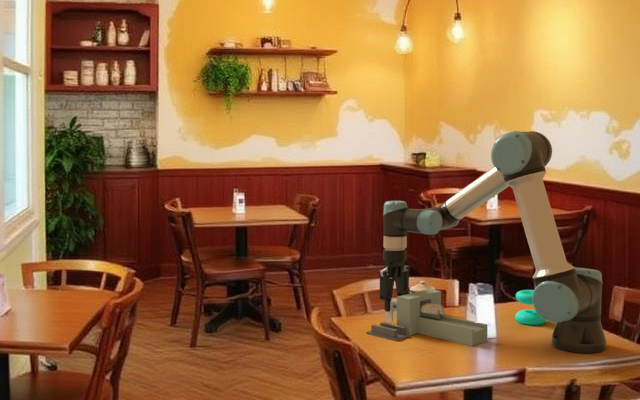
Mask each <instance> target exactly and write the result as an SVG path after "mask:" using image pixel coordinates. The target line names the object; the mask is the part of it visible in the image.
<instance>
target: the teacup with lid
mask: <svg viewBox="0 0 640 400" xmlns="http://www.w3.org/2000/svg"><path fill="white" fill-rule="evenodd" d="M426 282H427V281H425V280H420V281H419V283H417V284H415V285H413V286H411V287H409V294H410V293H414V292H418V291H422V290H426V289H432V290H437V289H436V288H435V286H431V285H430V284H428V283H426Z"/></svg>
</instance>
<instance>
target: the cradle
mask: <svg viewBox="0 0 640 400" xmlns="http://www.w3.org/2000/svg"><path fill="white" fill-rule="evenodd" d="M370 327H371V328H370V329H371V330H367V331H366V332H365V333H366V334H368V335H370V336H374V337H379V338H382V339H386V340H390V341H395V342H397V341H401V340H404V339H408V338H411V337H412V335H410V334H406V327H404V326H399V325H397V324H395V323H392V322H391V323H389V322H388V321H382V322H380V323H379V324H371V326H370Z"/></svg>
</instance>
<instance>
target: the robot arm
mask: <svg viewBox="0 0 640 400" xmlns="http://www.w3.org/2000/svg"><path fill="white" fill-rule="evenodd" d="M491 147H492V148H491V151H490V159H491V164H492V165H493V167H491V168H490V169H488V170H487V171H486V172H484V173H483V174H481V175H480V176H479V177H477V178H476V179H475V180H473V181H472V182H470V183H469V184H468V185H466V186H465V187H463V188H462V189H460V191H458V192H457V193H455V194H454V195H453V196H451V197H450V198H448V199H447V200H445V201H444V202H442V203H441V204H440V205H438V206H433V207H429V208H428V207H427V208H422V209H421V208H410V207H408V204H407V202H406V201H404V200H387V201H385V202H384V204H383V214H382V218H383V234H382V235H383V243H382V244H383V245H382V246H383V248H384V249H383V250H382V251H383V252H382V260H383V261H384V262H385V264H384V268H383V269H379V270H378V275H379V300H381V301H383V302H384V321H385V322H391V323H392V322H394V315H395V319H397V312H393V302H392V301H391V300H392V298H393V293H394V288H395V289H396V290H395V291H396V298H397V297H398V296H402V295H406V294H410V291H409V290H410V270H411V266H410V265H406V264H405V261H407V249H406V248H407V246H408V244H407V243H408V240H407V239H408V237H407V233H415V234H423V235H426V236H427V235H436V234H438V233H439V232H440V231H441V230H448V229H452V228H455V227H456V226H458V224H459V222H460V220H462V219H464V217H466V216H467V215H469V214H471V213H472V212H473V211H475V210H476V209H478V208H479V207H481V206H482V205H484V204H485V203H487V202H488V201H490V200H491V199H493V198H494V197H495V196H497V195H498V194H500V193H501V192H503V191H504V190H506V189H508V187H510V188H511V189H512V191H513V195H514V197H515V198H514V199H515V201H516V202H515V203H516V206H517V208H518V212H519V215H520V219H521V223H522V226H523V228H524V229H523V230H524V233H525V237H526V240H527V244H528V246H529V251H530V254H531V258H532V260H533V261H532V262H533V264H534V268H535V272H534V274H533V275H532V280H533V284H534V287H535V288H534V289H533V290H534V293H533V295H532V302H533V305H532V306H533V308H534V310H536V311H537V313H538V314H539V315H540V316H541V317H543V318H544V319H546V321H548V322H551V323H556V324H555V325H554V326H555V327H554V329H553V331H552V334H551V345H552V346H553V347H554V348H556V349H558V350H561V351H566V352H571V353H581V354H594V353H601V352H603V351H605V350H607V338H606V335H605V331H604V329H603V326H602V322H601V321H602V320H601V319H602V318H601V315H602V295H603V294H602V293H603V277H602V276H603V274H602V271H600V270H597V269H593V268H587V267H586V268H585V267H575V266H573V265H572V264H570V263H568V261H567V259H566V255H565V251H564V247H563V245H562V241H561V237H560V234H559V230H558V227H557V224H556V221H555V218H554V214H553V210H552V208H551V207H552V206H551V204H550V200H549V197H548V194H547V193H548V192H547V190H546V187H545V184H544V183H545V182H544V178H545V175H546V174H547V170H546V166H548V164H549V163H550V161H551V158H552V156H553V147H552V143H551V141H550V140H549V139H548V137H547V136H546V135H544V134H543V133H541V132H538V131H532V130H531V131H519V130H515V131H510V132H506V133H504V134H501V135H500V136H499V137H498V138H496V140H495V141H494V143H493V145H492V146H491ZM394 286H395V287H394ZM394 313H395V314H394Z"/></svg>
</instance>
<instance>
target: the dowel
mask: <svg viewBox="0 0 640 400" xmlns="http://www.w3.org/2000/svg"><path fill="white" fill-rule="evenodd" d="M391 301H392V302H393V313H395V312H397V297H392V300H391ZM443 315H445V309H444V306H443V305H442V304H441V305H436V304H430V303H423V302H420V316H422V317H428V318H434V319H441V318H442V317H443Z"/></svg>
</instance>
